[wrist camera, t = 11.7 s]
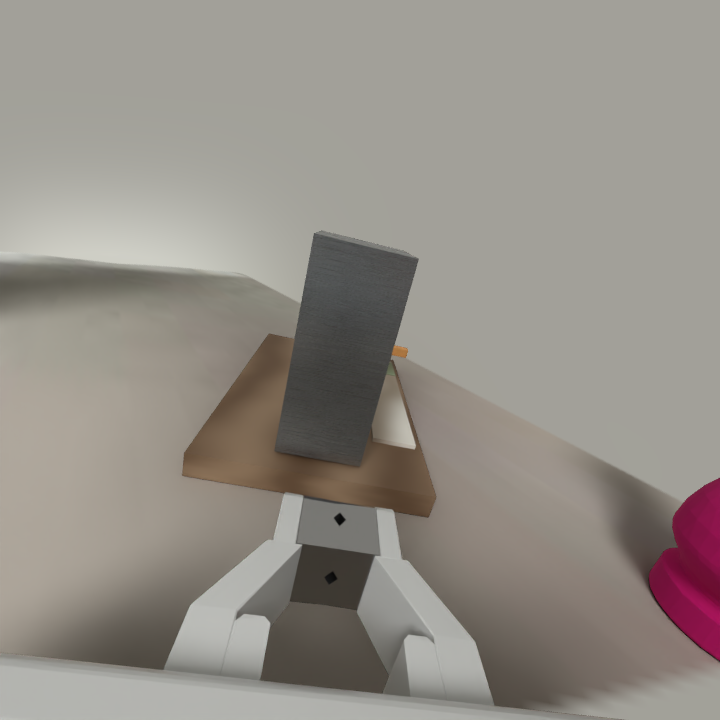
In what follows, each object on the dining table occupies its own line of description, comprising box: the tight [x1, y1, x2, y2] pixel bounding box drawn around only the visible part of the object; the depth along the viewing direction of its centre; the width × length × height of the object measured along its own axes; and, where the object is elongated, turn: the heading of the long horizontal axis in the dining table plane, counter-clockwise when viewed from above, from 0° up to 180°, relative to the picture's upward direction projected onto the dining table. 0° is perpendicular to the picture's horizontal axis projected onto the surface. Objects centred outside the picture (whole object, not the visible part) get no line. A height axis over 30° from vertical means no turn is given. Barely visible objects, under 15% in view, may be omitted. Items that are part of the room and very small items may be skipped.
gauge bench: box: [182, 334, 436, 517], centre depth 30 cm, size 14×22×8 cm, turn 1°
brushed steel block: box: [274, 231, 418, 467], centre depth 24 cm, size 5×10×12 cm, turn 1°
